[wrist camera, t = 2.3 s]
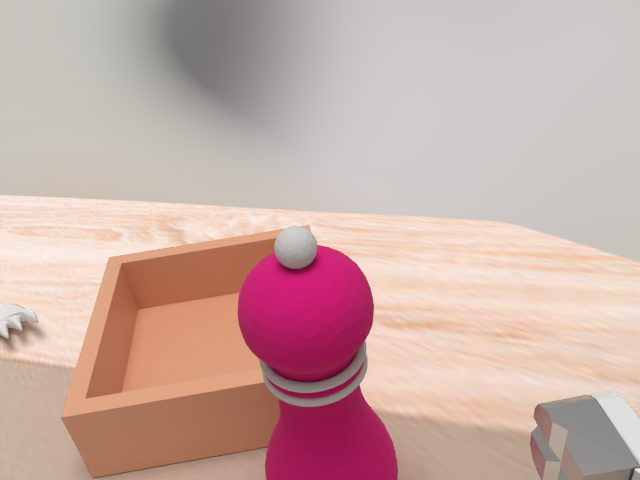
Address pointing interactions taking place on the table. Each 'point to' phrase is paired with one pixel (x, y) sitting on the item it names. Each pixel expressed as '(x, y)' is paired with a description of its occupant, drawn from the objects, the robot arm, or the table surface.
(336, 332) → the pepper mill
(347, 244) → the table surface
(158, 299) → the crate
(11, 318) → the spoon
